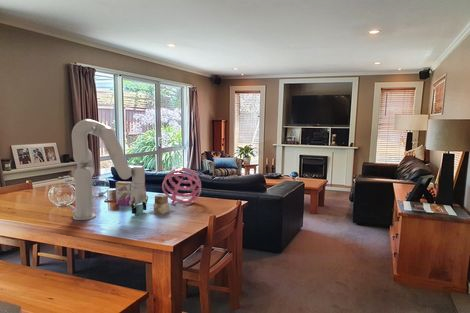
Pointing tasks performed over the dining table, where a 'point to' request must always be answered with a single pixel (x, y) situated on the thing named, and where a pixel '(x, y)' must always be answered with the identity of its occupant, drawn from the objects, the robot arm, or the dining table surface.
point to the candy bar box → (123, 192)
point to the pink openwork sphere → (177, 187)
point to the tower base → (161, 208)
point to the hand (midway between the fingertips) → (139, 211)
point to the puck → (139, 209)
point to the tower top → (161, 199)
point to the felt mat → (161, 214)
